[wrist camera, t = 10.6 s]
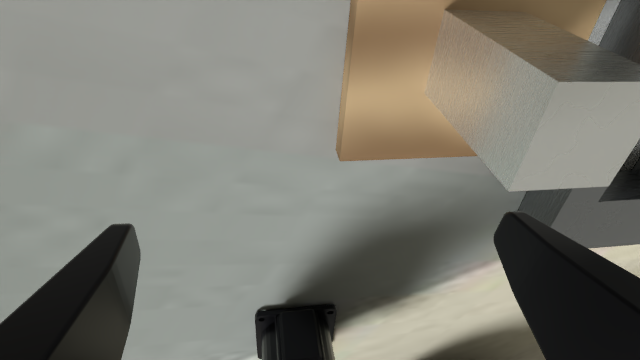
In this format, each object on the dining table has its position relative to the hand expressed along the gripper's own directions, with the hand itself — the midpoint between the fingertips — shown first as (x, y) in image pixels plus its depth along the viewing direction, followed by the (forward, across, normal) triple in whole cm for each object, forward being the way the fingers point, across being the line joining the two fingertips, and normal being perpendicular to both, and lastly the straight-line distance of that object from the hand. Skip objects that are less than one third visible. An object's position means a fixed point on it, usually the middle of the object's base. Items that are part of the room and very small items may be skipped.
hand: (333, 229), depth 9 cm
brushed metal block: (+11, -9, -1) cm, 14 cm away
